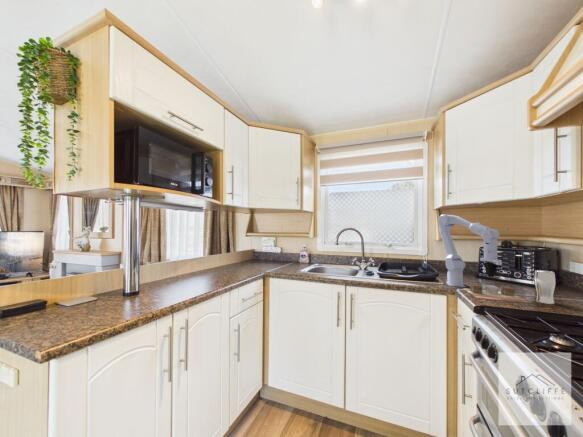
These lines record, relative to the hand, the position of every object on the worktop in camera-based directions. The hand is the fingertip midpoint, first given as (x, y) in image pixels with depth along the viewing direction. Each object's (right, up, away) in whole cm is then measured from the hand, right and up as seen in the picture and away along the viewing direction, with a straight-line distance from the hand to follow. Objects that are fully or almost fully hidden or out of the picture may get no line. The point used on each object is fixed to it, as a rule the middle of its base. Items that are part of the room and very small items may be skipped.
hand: (490, 276), depth 129 cm
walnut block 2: (+6, -9, -3) cm, 11 cm away
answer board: (-1, -9, -3) cm, 10 cm away
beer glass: (+14, -9, -14) cm, 22 cm away
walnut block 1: (-7, -9, +1) cm, 11 cm away
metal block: (0, -9, -1) cm, 9 cm away
